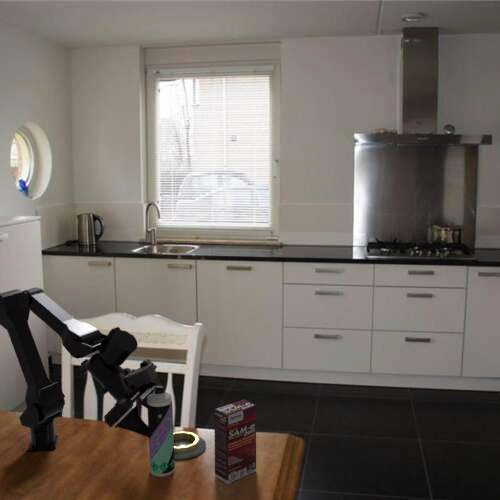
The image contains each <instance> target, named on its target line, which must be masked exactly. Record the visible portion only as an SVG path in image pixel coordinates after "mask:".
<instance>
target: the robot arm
mask: <svg viewBox="0 0 500 500" xmlns="http://www.w3.org/2000/svg"><path fill="white" fill-rule="evenodd" d="M31 312H32V313H33V314H34V315H35V316H36V317H38V318H39V319H40V320H41V321H42V322H43V323H44V324H46V325H47V326H48V327H49V328H51V329H52V330H53V331H54V332H55V333H56V334H57V335H58V336H59V338H60V339H61V344H62V346H63V347H64V348H65V350H66V351H67V352H68V353H69V355H70V356H71V357H73V358H74V359H77V360H79V359H82V358H85V357H88V356H90V355H91V356H90V358H89V359H87V358H86V359H84V360H83V361H82V362H81V363H80V375H81V376H84V375H86V374H87V373H90V375H92V377H94V379H95V381H97V382H98V383H99V384H100V385H101V386H102V388H103V389H102V391H101V392H102V393H103V394H104V395H106V394H107V393H109V394H110V396H111V397H112V398H113V399H115V401H116V402H115V404H114V406H113V407H111V408H110V409H109V410H108V411H107V413H105V415H104V416H103V418H104V419H103V420H104V423H105V425H107V426H108V427H109V428H110V429H111V428H112V427H113V426H114V425H115V426H114V428H115V429H117V428H119V429H123V430H127V431H129V432H133V433H136V434H139V435H141V436H144V437H147V438H148V439H149V438H150V437H151V436H152V435H153V433H152V432H151V430H150V429H149V428H148V424H147V423H145V421H144V420H143V419H142V417H141V416H140V415H139V412H138V410H139V409H138V405H137V404H136V405H134V403H135V402H137V401H140V402H139V405H141V406H143V407H145V409H147V400H148V396H149V395H150V394H152V393H153V391H155V387H156V386H157V385H161V384H160V383H159V382H160V381H161V380H160V378H159V377H158V374H157V373H158V372H156V370H157V367H158V366H157V365H156V364H154V362H152V361H151V360H150V359H149V358H148V359H145V360H143V361H142V362H140V363H139V367H138V368H137V369H135V370H133V371H132V370H131V368H128V367H126V368H123V367H122V365H123V364H124V363H125V362H126V361H127V360H128V359H129V357H131V355H132V354H133V353H134V352H135V351H136V350H137V349H138V341H137V338H136V337H135V336H134V334H131V333H130V332H128V331H126V330H123V329H121V328H120V327H119V326H116V327H113V328H111V329H110V331H109V332H108V334H106V333H103V332H101V331H100V330H99V329H98V328H97V327H95V326H93V325H91V324H89V323H88V322H83V321H81V320H77V319H76V318H74V317H73V316H72V315H70V314H69V313H68V312H67V311H66V310H65V309H64V308H63V307H61V306H60V305H59V304H57V302H55V301H54V300H53V299H51V297H49V296H48V295H47V294H46V293H45V291H44V290H43V288H41V287H31V288H29V289H24V290H21V289H19V288H18V289H12V290H8V291H5V292H0V326H1V327H2V328H4V329H5V330H7V334H8V337H9V339H10V341H11V345H12V347H13V350H14V353H15V356H16V358H17V361H18V363H19V366H20V368H21V372H22V375H23V377H24V380H25V384H26V387H27V388H26V393H25V398H24V400H25V405H26V409H25V410H24V411H23V412H22V414H20V416H19V422H20V423H21V426H23V427H26V428H28V429H29V433H30V441H29V444H28V448H27V451H28V452H34V451H36V452H37V451H45V450H53V449H54V450H55V449H56V448H57V445H58V440H59V435H57V434H56V431H55V430H56V429H55V428H56V427H55V420H56V419H57V418H60V417H62V413H63V409H64V407H65V405H66V401H65V398H66V396H65V394H64V392H63V390H62V385H61V383H60V382H59V381H56V382H54V381H52V379H50V378H49V376H48V375H47V372H46V369H45V365H44V363H43V360H42V357H41V355H40V353H39V350H38V347H37V344H36V342H35V338H34V336H33V334H32V331H31V328H30V325H29V319H30V318H29V317H30V313H31ZM51 329H50V330H51Z"/></svg>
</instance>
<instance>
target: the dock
mask: <svg viewBox="0 0 500 500" xmlns="http://www.w3.org/2000/svg"><path fill="white" fill-rule="evenodd" d="M173 436H174V461H182V460H190V459H193V458H197V457H198V456H200V455H202V454H203V453H205V451H206V448H207V443H206V440H204V439H203V438H202V437H201V436H199V435H197V434H196V433H194V432H190V431H185V430H183V431H173Z"/></svg>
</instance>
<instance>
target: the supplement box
mask: <svg viewBox="0 0 500 500" xmlns="http://www.w3.org/2000/svg"><path fill="white" fill-rule="evenodd" d="M213 412H214V417H213V418H214V477H215V478H217V479H219V480H220V481H221V482H223V483H225V484H226V485H230V484H231V483H233V482H235V481H237V480H240V479H242V478H244V477H246V476H248V475H250V474H253V473H256V472H257V405H256V404H255V403H253V402H251V401H248V400H246V399H241V400H238V401H236V402H235V401H234V402H233V403H230V404H226V405H224V406H221V407H217V408H215V409H214V411H213Z"/></svg>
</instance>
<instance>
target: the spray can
mask: <svg viewBox="0 0 500 500" xmlns="http://www.w3.org/2000/svg"><path fill="white" fill-rule="evenodd" d="M146 409H147V423H148V424H147V426H148V428H149V429H150V430H151V432H152V433H153V435H152V436H151V437H150V438H149V437H148V449H149V450H148V451H149V455H148V456H149V471H150V472H149V473H150V474H151V476H153V477H157V478H164V477H168V476H170V475H172V474H173V473H175V470H176V469H175V468H176V466H175V464H176V463H175V460H174V436H173V433H174V415H173V413H174V411H173V398H172V394H171V393H169V392H166V390H165V388H164V386H163V385H161V384H160V385H158V384H156V385H155V391H153V393H152V394H150V395H149V396H148V400H147V408H146Z"/></svg>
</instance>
